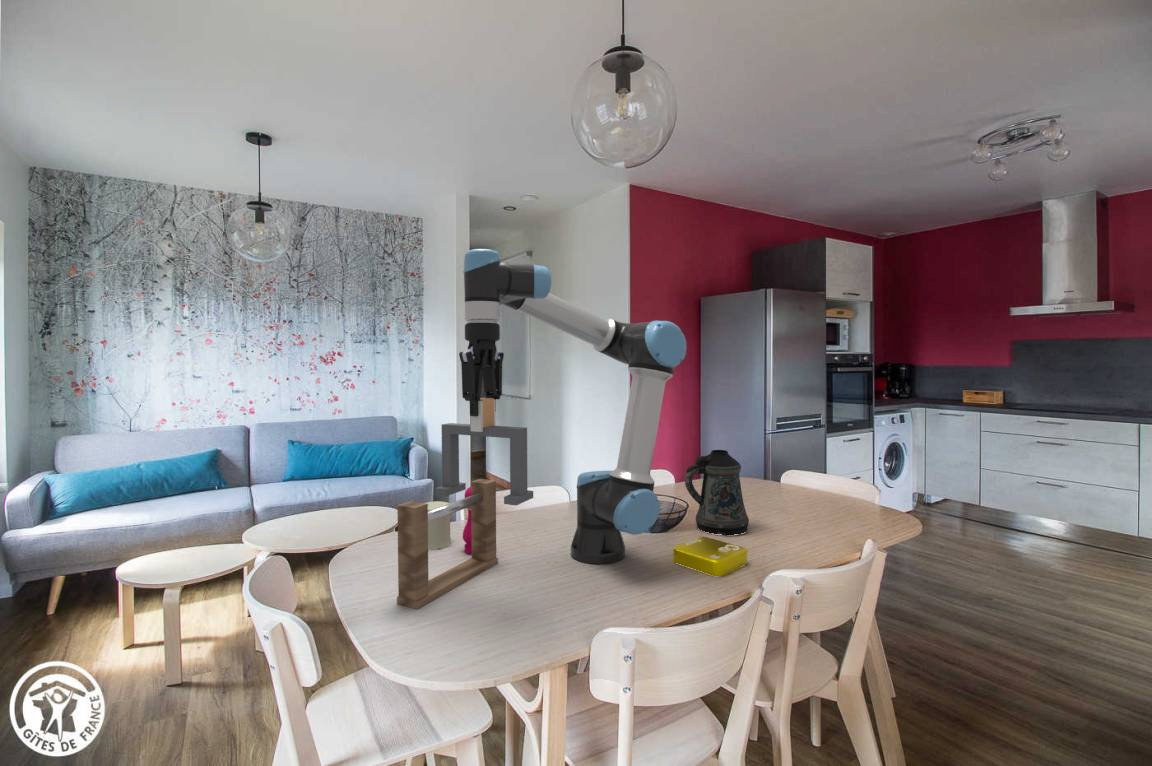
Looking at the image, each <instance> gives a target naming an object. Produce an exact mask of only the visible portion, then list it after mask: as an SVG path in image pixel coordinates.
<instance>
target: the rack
mask: <svg viewBox="0 0 1152 766" xmlns="http://www.w3.org/2000/svg"><path fill="white" fill-rule="evenodd" d="M470 487H471V496H469V497H467V498H465V497H464V498H462V499H458V500H456V501H453V502H449V503H450V504H447V505H444V506H441V507H439V508H436V509H433V510H430V511H428V504H426V503H427V502H417V501H411V500H410V501H407V502H403V503H400V504H398V505H397V510H396V511H397V575H398V576H397V577H398V578H397V579H398V582H397V583H398V586H397V587H398V592H397V593H398V595H397V596H396V604H398V605H400V606H404V607H408V608H412V609H415V610H419V609H421V608H423V607H424V606H425V605H427V604H430V603H431V602H433V601H434V600H436V599H438V598H440V597H441V595H442V596H443V595H445V594H447V593H449V592H451V591H452V590H453V588H454V589H456V588H457V587H460V586H461V585H462V584H464V583H466V582H468V581H470V580H471V579H473V578H474V576H475V577H476V576H478V575H480V574H482V573H484V572H485V571H487V570H489V569H491V568H492V567H493V566H495V565H497V564H498V562H499V559H498V557H497V480H495V479H492V480H491V479H485V478H479V479H475V480H473V481H470ZM470 506H471V528H472V554H471V558H469V559H467V560H465V561H463V562H461V563H459V564H458V565H455V566H453V567H452V568H449V569H447V570H446V571H444V572H442V573H440V574H438V575H436V576H434V577H432V578H431V579H429V550H428V522H431V521H434V520H436V519H439V518H441V517H444V516H447V515H449V514H450V515H451V514H454V513H457V512H459V511H462V510H465V509H467V507H470ZM467 580H468V581H467ZM460 584H461V585H460ZM455 587H456V588H455ZM451 589H452V590H451ZM448 591H449V592H448ZM446 592H447V593H446Z"/></svg>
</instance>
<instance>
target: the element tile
mask: <svg viewBox="0 0 1152 766" xmlns="http://www.w3.org/2000/svg"><path fill="white" fill-rule="evenodd" d="M672 562H675V563H678V564H681V565H684V566H687V567H690V568H693V569H696V570H699V571H702V572H704V573H707V574H710V575H713V576H723V575H725V576H727V575H728V574H727V573H729V574H731V573H733V572H735V571H737V570H739V569H741V568H742V567H741V566H743V565H745V564H747V565H748V549H747V548H746V547H743V546H741V545H735V544H733V543H730V542H725V541H722V540H718V539H715V538H711V537H708V536H699V537H696V538H694V539H691V540H687V541H686V542H683V543H681V544H678V545H677V544H676V545H674V547H672ZM675 563H674V564H675ZM740 567H741V568H740ZM743 567H744V566H743ZM738 568H739V569H738ZM736 569H737V570H736ZM734 570H735V571H734ZM732 571H733V572H732ZM730 572H731V573H730ZM704 573H703V574H704ZM707 574H706V575H707ZM726 574H727V575H726ZM710 575H709V576H710ZM713 576H712V577H713ZM723 577H724V576H723Z"/></svg>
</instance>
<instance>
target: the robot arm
mask: <svg viewBox="0 0 1152 766" xmlns="http://www.w3.org/2000/svg"><path fill="white" fill-rule="evenodd" d="M463 260H464V262H463V271H462V272H463V282H464V283H463V284H464V287H463V288H464V289H463V290H464V321H466V322H467V323H465V324H464V339H465V341H467V342H468V346H467V350H466V351H459V354H458V355H459V359H460V364H461V365H460V366H461V390H462V391H461V392H462V396H461V397H462V398H463V399H464V400H465V401H466V402H469V416H470V424H471V431H474V432H483V401H480V398H482V397H481V395H482V388H484V396H485V397H484V398H494V426H496V411H497V410H496V409H497V404H496V402H497V401H496V400H500V399H501V396H502V395H503V361H504V357H505V355H504V354H505V353H504V352H502V351H501V352H499V351H498V349H497V345H496V342H498V341H500V339H501V332H500V331H501V327H500V326H501V325H500V324H499V323H498V322H500V320H501V307H500V306H506V307H508V308H509V309H513V310H516V311H518V312H519V313H522V314H524V315H526V316H528V317H531V318H532V319H535V320H536V321H537V320H538V322H539V321H540V322H542V323H543V324H546V325H547V326H550V327H552V328H554V329H557V330H560V331H561V332H564V333H566V334H568V335H570V336H573V337H575V338H577V339H579V340H581V341H583V342H586V343H588V344H590V345H592V346H593V349H594V350H595V351H597V352H598V353H600V354H602V355H605V356H607V357H609V358H612V359H613V360H616V361H617V362H621V363H622V364H625V365H628V366H627V370H628V372H629V373H630V375H631V377H632V379H631V383H630V391H629V395H628V401H627V408H626V413H625V418H624V419H625V420H624V422H623V423H624V425H623V429H622V435H621V440H620V441H621V442H620V447H619V453H618V459H617V463H616V468H615V469H614V470H593V471H586V472H582V473H580V474H579V475H578V476H577V481H576V513H577V514H576V516H577V517H576V520H577V521H576V528H575V532H574V535H573V539H572V541H571V544H570V545H571V546H570V555H571V557H572V559H575V560H577V561H579V562H582V563H586V564H587V563H588V564H596V565H597V564H599V565H600V564H601V565H602V564H612V563H616V562H619V561H621V560H623V559H624V558H625V557H626V544H625V541H624V538H623V534H622V533H626V534H629V535H640V534H643V533H645V532H647V531H648V530H649V529H650V528H651V527H653V526H654V524H655V523H656V521H657V519H658V517H659V514H660V510H661V504H660V500H659V499H658V495H656V494H655V492H654V489H655V480H654V478H653V477H652V475H651V470H652V463H653V457H654V452H655V446H656V440H657V435H658V429H659V424H660V422H659V421H660V416H661V411H662V405H663V399H664V394H665V387H666V383H667V381H669V380H670V379H672V378H673V376H674V371H675V370H674V369H675V368H676V367H677V366H678V365H680V364H681V363H682V362H683V360H684V359H685V357H686V355H687V339H686V337H685V335H684V333H683V332H682V330H681V327H679V326H678V325H676V324H675V323H674V322H671V321H669V320H658V319H657V320H652V321H645V322H637V323H627V322H620V321H617V320H615V319H614V318H610V317H609V318H605V319H604V318H603V317H600V316H598V315H596V314H593V313H592V312H591V311H588V310H586V309H584V308H581V307H579V306H578V305H576V304H573V303H571V302H569V301H568V300H566V299H562V298H561V297H559V296H556V295H555V294H552V293H550V292H551V288H552V275H551V272H550V270H549V268H548V267H546V266H543V265H538V264H535V263H533V264H529V263H528V264H527V263H520V262H519V263H518V262H506V261H502V260H501V258H500V253H499V252H498V251H496V250H493V249H490V248H489V249H488V248H473V249H470V250H468V251H466V252H465V254H464V259H463ZM482 384H483V385H482ZM482 386H483V387H482Z"/></svg>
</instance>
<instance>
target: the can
mask: <svg viewBox="0 0 1152 766" xmlns="http://www.w3.org/2000/svg"><path fill="white" fill-rule="evenodd" d="M425 503H426V504H428V511H430V510H433V509H436V508H439V507H441V506H444V505H447V504H450V503H451V502H446V501H440V500H439V501H437V500H436V501H428V502H425ZM451 544H452V540H451V514H449V515H447V516H444V517H441V518H439V519H436V520H434V521H431V522H428V549H435V550H439V549H438V548H442V549H445V548H447V547H449V546H450V545H451ZM446 546H447V547H446ZM444 547H445V548H444Z"/></svg>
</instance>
